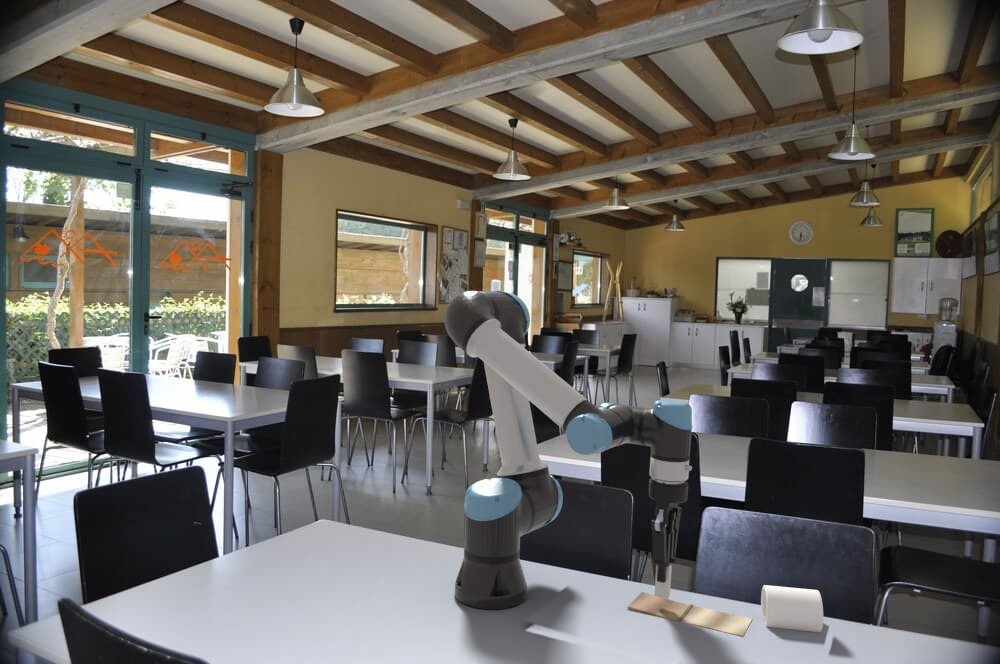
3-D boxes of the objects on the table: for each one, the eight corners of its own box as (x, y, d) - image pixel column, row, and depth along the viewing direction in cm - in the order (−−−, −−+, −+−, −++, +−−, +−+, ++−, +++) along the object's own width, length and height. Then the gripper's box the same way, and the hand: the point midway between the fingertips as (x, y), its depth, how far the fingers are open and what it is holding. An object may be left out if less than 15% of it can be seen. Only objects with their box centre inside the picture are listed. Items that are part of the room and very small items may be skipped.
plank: (627, 612, 148) (627, 606, 148) (641, 597, 156) (641, 591, 156) (677, 626, 143) (677, 620, 143) (689, 610, 151) (689, 605, 151)
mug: (822, 642, 139) (824, 599, 138) (766, 636, 141) (767, 594, 140) (809, 615, 151) (811, 576, 150) (757, 610, 153) (758, 571, 152)
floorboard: (678, 627, 143) (678, 619, 143) (690, 611, 151) (690, 604, 151) (742, 643, 137) (742, 635, 137) (751, 625, 145) (752, 618, 145)
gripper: (678, 489, 140) (671, 612, 142) (696, 475, 151) (689, 589, 153) (639, 483, 144) (633, 602, 145) (660, 469, 155) (654, 580, 157)
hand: (662, 595), depth 149 cm, fingers closed
